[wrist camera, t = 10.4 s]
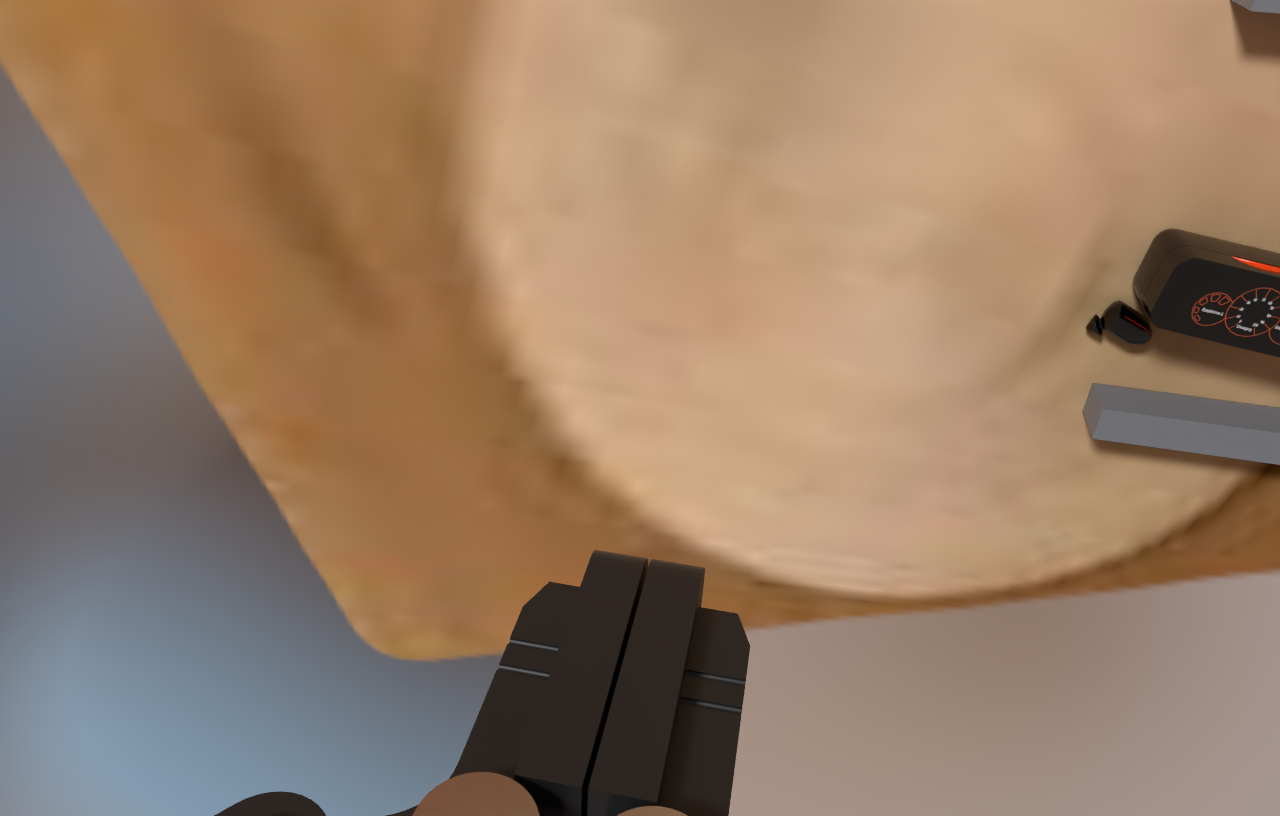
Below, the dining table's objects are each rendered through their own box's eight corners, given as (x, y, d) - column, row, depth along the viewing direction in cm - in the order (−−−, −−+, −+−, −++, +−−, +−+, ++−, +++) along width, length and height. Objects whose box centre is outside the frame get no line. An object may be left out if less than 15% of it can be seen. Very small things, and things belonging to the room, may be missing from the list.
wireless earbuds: (1135, 214, 35) (1158, 248, 33) (1330, 261, 35) (1370, 299, 32) (1081, 323, 38) (1098, 363, 35) (1262, 367, 38) (1294, 411, 35)
